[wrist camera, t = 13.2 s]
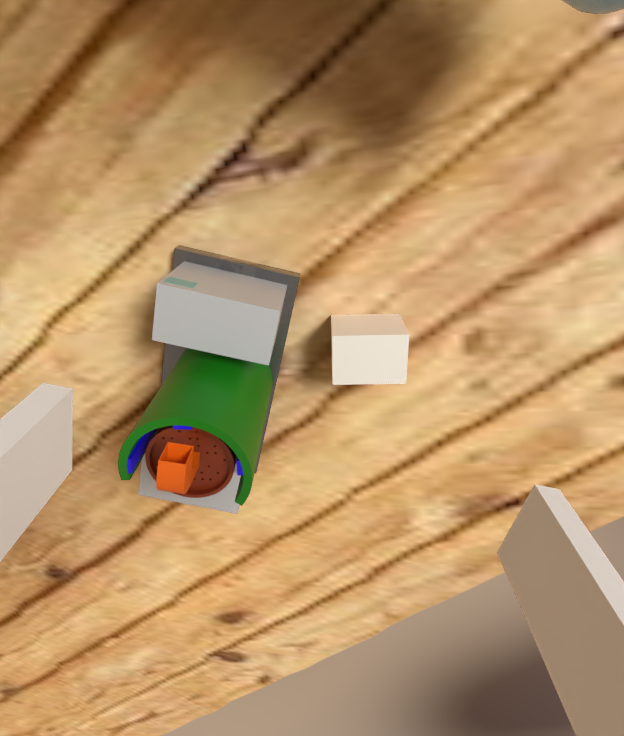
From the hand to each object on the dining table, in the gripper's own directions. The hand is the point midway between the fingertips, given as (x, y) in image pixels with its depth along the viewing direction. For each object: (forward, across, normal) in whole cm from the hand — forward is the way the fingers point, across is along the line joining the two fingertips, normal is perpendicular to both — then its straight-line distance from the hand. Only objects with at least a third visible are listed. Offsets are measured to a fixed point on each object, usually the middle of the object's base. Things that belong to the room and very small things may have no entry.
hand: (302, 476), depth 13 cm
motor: (+33, -6, -15) cm, 37 cm away
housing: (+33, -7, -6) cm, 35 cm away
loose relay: (+35, +7, -8) cm, 36 cm away
